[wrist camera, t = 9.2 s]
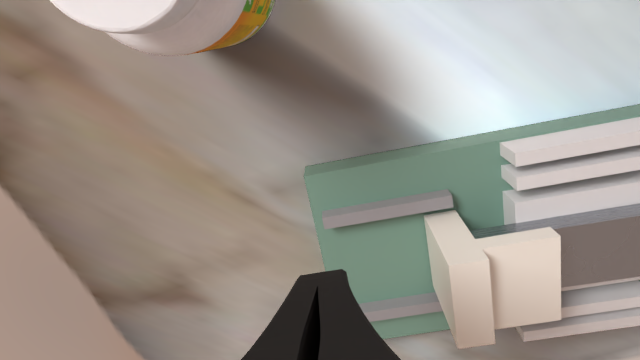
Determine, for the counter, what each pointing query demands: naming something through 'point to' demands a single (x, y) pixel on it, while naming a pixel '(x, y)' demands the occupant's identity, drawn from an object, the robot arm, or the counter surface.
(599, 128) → the heatsink board
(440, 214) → the clip
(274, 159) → the counter surface
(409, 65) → the counter surface
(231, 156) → the counter surface
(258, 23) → the supplement bottle
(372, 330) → the robot arm
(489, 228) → the strap
